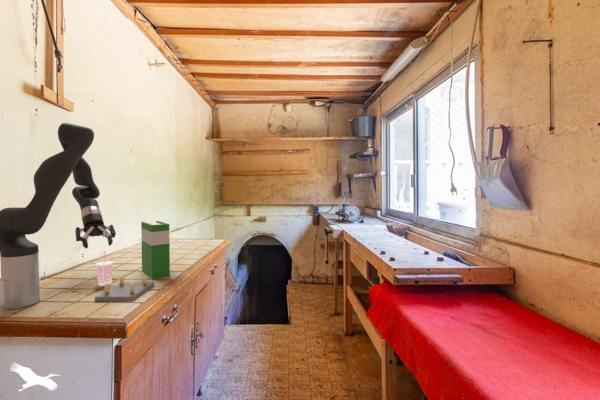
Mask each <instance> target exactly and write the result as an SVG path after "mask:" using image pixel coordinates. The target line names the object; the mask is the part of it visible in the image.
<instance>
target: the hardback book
mask: <svg viewBox="0 0 600 400" xmlns="http://www.w3.org/2000/svg"><path fill="white" fill-rule="evenodd" d="M140 223H141V271H142V272H143V273H144V274H145V276H148V277H149V278H150V279H151V280H157V279H162V278H166V277H170V276H171V269H170V267H171V266H170V264H171V263H170V261H171V259H170V247H171V246H170V223H167V222H163V221H160V220H156V221H155V222H145V221H141V222H140Z"/></svg>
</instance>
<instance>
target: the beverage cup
mask: <svg viewBox="0 0 600 400" xmlns="http://www.w3.org/2000/svg"><path fill="white" fill-rule="evenodd" d="M113 265H114V261H112V260H106V250H103V261H99V262H97V263H96V262H95V267H96V275H97V276H96V277H97V286H98V287H99V286H100V287H105V284H106V283H109V286H110V285H111V284H112V282H113V281H112V280H113Z"/></svg>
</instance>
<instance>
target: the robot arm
mask: <svg viewBox="0 0 600 400" xmlns="http://www.w3.org/2000/svg"><path fill="white" fill-rule="evenodd" d="M57 137H58V140H59V143H60V145H61V147H62V149H63V150H61V151H60V152H58V153H56V154H54V155H52V156H51V155H50V156H49V157H47V158H45V160H43V162H41V164H40V165H39V167H38V168H37V170H36V171H35V172H34V175H33V185H34V190H35V191H34V194H33V197H32V198H31V200H30V202H29V203H28V204H27V205H26V206H25V207H5V208H3V209H1V210H0V308H1V309H2V310H4V311H8V310H12V309H13V310H14V309H15V310H16V309H20V308H25V307H30V306H32V305H35V304H37V303H38V302H39V301H41V299H40V297H41V293H40V263H39V262H40V259H39V257H40V256H39V251H40V250H39V245H38V244H37V243H35V242H33V241H31V240H29V239H28V238H27V237H26V236H27V235H34V234H36V233H38V232H39V231H40V230H41V229H42V228H43V226H44V225H45V223H46V221H47V219H48V217H49V215H50V211H52V210H51V209H52V207H53V205H54V203H55V201H56V199H57V197H58V196H59V194H60V193H61V190H62V189H63V188H64V186H65V184H66V183H67V181H68V179H69V178H70V176H71V175H72V177H73V179H74V180H73V181H74V183H75V185H77V186H75V187H73V188H72V191H71V193H72V194H71V195H72V197H73V198H74V199H75V201H76V202H77V203H78V205H79V208H80V209H79V210H80V212H81V213H80V216H81V221H82V226H83V227H82V228H80V226H79V227H78V226H77V227H75V231H74V232H75V241H76V242H82V247H83V248H84V249H88V247H89V243H88V240H89V238H90V237H92V238H93V237H103V238H106V239H107V244H108V246H111V245H113V242H114V240H113V238H115V237H116V235H117V234H116V233H117V232H116V230H115V228H114V225H113V224H110V225H108V226H106V225H105V223H104V218H103V215H102V211H101V210H100V206H99V202H98V200H97V199H98V198H99V197H100V194H101V193H100V189H99V188H98V186H97V184H96V183H95V181H94V178H93V177H94V176H93V172H92V168H91V165H90V164H89V163H88V161H86V159H85V158H84V157H83V156H84V154H85V153H86V152H87V151H88V149H90V147H91V145H92V144H93V142H94V139H95V132H94V130H93V128H90V127H88V126H84V125H81V124H76V123H70V122H63V123H61V124H60V125H59V127H58V129H57ZM82 233H84V235H83V236H81V234H82Z"/></svg>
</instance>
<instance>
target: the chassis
mask: <svg viewBox="0 0 600 400" xmlns="http://www.w3.org/2000/svg"><path fill="white" fill-rule="evenodd" d="M147 276H148V275H143V276H142V281H124V279H125V278H124V275H120V276H119V283H118V284H116V285H115V286H112V287H111V288H110V285H109V283H106V284H105V286H104V292H102V293H100V294H98V295H96V296H94V302H132V301H134V300H136V299H137V298H139V297H140V296H142V295H143V294H144V293H146V292H147V291H149V290H150V289H151V288H153V287H154V286H155V281H148V279H147V278H148V277H147ZM148 289H149V290H148Z"/></svg>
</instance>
